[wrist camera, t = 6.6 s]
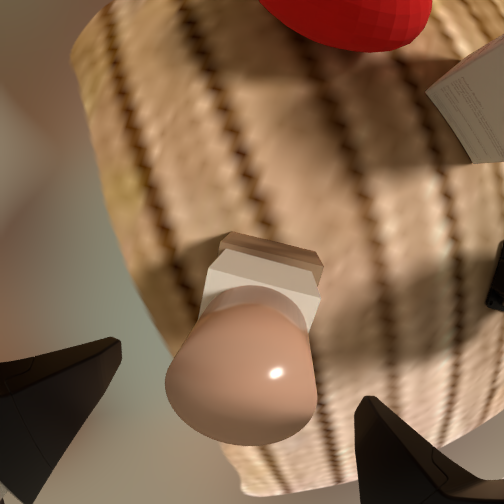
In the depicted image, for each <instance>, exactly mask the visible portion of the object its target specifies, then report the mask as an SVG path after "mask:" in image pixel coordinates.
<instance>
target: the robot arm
mask: <svg viewBox="0 0 504 504" xmlns="http://www.w3.org/2000/svg"><path fill="white" fill-rule="evenodd" d="M485 305H486V306H487V307H488V308H491V309H496V310H500V311H504V244H503V248H502V252H501V256H500V259H499V263H498V266H497V270H496V273H495V276H494V279H493V282H492V285H491V288H490V291H489V294H488V297H487V299H486V303H485ZM121 360H122V351H121V341H120V340H118V339H116V338H113V337H107V338H104V339H100V340H97V341H93V342H89V343H85V344H82V345H78V346H74V347H70V348H66V349H62V350H58V351H54V352H50V353H47V354H42V355H39V356H35V358H34V357H30V358H26V359H20V360H15V361H9V362H1V363H0V504H4V500H3V496H4V495H5V494H6V493H7V491H9V492H10V493H11V494H12V495H13V496H14V497H16V498H17V499H18V500H19V501H20V502H21V503H23V504H33V502H34V501H35V499H36V497H37V495H38V494H39V492H40V490H41V489H42V487H43V485H44V484H45V482H46V481H47V479H48V478H49V476H50V474H51V473H52V470H53V469H54V468H55V466H56V465H57V463H58V461H59V460H60V458H61V457H62V455H63V454H64V452H65V451H66V449H67V448H68V446H69V445H70V443H71V442H72V440H73V438H74V437H75V436H76V434H77V432H78V431H79V430H80V428H81V427H82V425H83V424H84V422H85V421H86V419H87V418H88V416H89V415H90V413H91V412H92V411H93V409H94V408H95V406H96V405H97V403H98V402H99V400H100V399H101V397H102V396H103V395H104V393H105V391H106V389H107V388H108V386H109V384H110V382H111V380H112V378H113V376H114V375H115V373H116V371H117V369H118V367H119V365H120V363H121ZM354 428H355V455H356V463H357V472H358V481H359V491H360V502H361V504H504V479H500V480H483V479H480V478H478V477H476V476H474V475H473V474H471V473H470V472H468V471H467V470H465V469H464V468H462V467H460V466H459V465H458V464H456V463H454V462H453V461H452V460H450V459H449V458H447V457H446V456H445V455H444V454H442V453H441V452H440V451H439V450H437V449H436V448H435V447H433V445H431V444H430V443H429V442H428V441H427V440H425V439H424V438H423V437H422V436H421V435H420V434H418V433H417V432H416V431H415V430H414V429H412V428H411V427H410V426H409V425H408V424H407V423H405V422H404V421H403V420H402V419H401V418H400V417H398V416H397V415H396V414H395V413H394V412H393V411H392V410H390V409H389V408H388V407H387V406H386V405H385V404H384V403H382V402H381V401H380V400H379V399H378V398H377V397H375V396H364V397H363V399H362V401H361V402H360V404H359V406H358V407H357V409H356V411H355V414H354Z"/></svg>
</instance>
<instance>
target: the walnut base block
mask: <svg viewBox="0 0 504 504" xmlns="http://www.w3.org/2000/svg"><path fill="white" fill-rule="evenodd" d="M225 249H230V250H233V251H237V252H241V253H244V254H248V255H252V256H256V257H259V258H263V259H267V260H270V261H274V262H278V263H282V264H285V265H289V266H293V267H297V268H300V269H304V270H308V271H311V272H312V274H313V276H314V279H315V282H316V285H317V287H318V284H319V281H320V278H321V275H322V271H323V268H324V266H323V264H322V262H321V260H320V259H319V257H318V255H317V253H316V252H315V251H311V250H307V249H303V248H299V247H294V246H290V245H286V244H282V243H278V242H274V241H270V240H266V239H262V238H257V237H253V236H249V235H245V234H241V233H236V232H231V233H229V234H228V235H227V236H226V237H225V238H224V239H223V240H221V241H220V245H219V250H218V255H217V258H218V257H219V256H220V255H221V254H222V252H223V251H224V250H225Z"/></svg>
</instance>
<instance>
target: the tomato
mask: <svg viewBox="0 0 504 504" xmlns="http://www.w3.org/2000/svg"><path fill="white" fill-rule="evenodd" d="M259 2H260V3H261V4H262V5H263V6H264V7H265V8H266V9H267V10H268V11H269V12H270V13H271V14H272V15H274V16H275V17H276V18H277V19H279V20H280V21H281V22H282V23H283V24H285V25H286V26H287V27H289V28H291V29H292V30H294V31H295V32H297V33H299V34H301V35H303V36H305V37H306V38H308V39H310V40H312V41H315V42H318V43H321V44H323V45H326V46H330V47H335V48H340V49H345V50H350V51H356V52H368V53H372V52H384V51H392V50H395V49H397V48H400V47H402V46H405V45H407V44H410V43H411V42H412V41H413V40H414V39H415V38H416V37H417V36H418V35H419V34H420V33H421V31H422V30H423V29H424V28H425V25H426V23H427V21H428V18H429V15H430V12H431V9H432V0H259Z"/></svg>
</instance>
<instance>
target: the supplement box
mask: <svg viewBox="0 0 504 504" xmlns="http://www.w3.org/2000/svg"><path fill="white" fill-rule="evenodd" d="M425 93H426V94H427V96H428V97H429V98H430V99H431V100H432V102H433V103H434V104H435V106H436V107H437V108H438V110H439V111H440V112H441V114H442V115H443V117H444V118H445V119H446V121H447V122H448V124H449V125H450V127H451V128H452V130H453V131H454V133H455V134H456V136H457V137H458V139H459V140H460V142H461V144H462V145H463V147H464V149H465V150H466V152H467V154H468V155H469V157H470V159H471V161H472V162H473V164H478V163H492V162H504V34H503V35H501V36H499V37H498V38H496V39H494V40H493V41H491V42H489V43H488V44H486V45H485V46H483V47H481V48H480V49H478V50H476V51H475V52H473V53H471V54H470V55H468V56H467V57H465V58H464V59H463V60H462V61H460V62H459V63H458V64H457V65H455V66H454V67H453V68H452V69H450V70H449V71H448V72H447V73H446V74H444V75H443V76H442V77H441V78H439V79H438V80H437V81H436V82H435V83H434V84H432V85H431V86H430V87H429V88H428V89H427V90H426V91H425Z"/></svg>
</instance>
